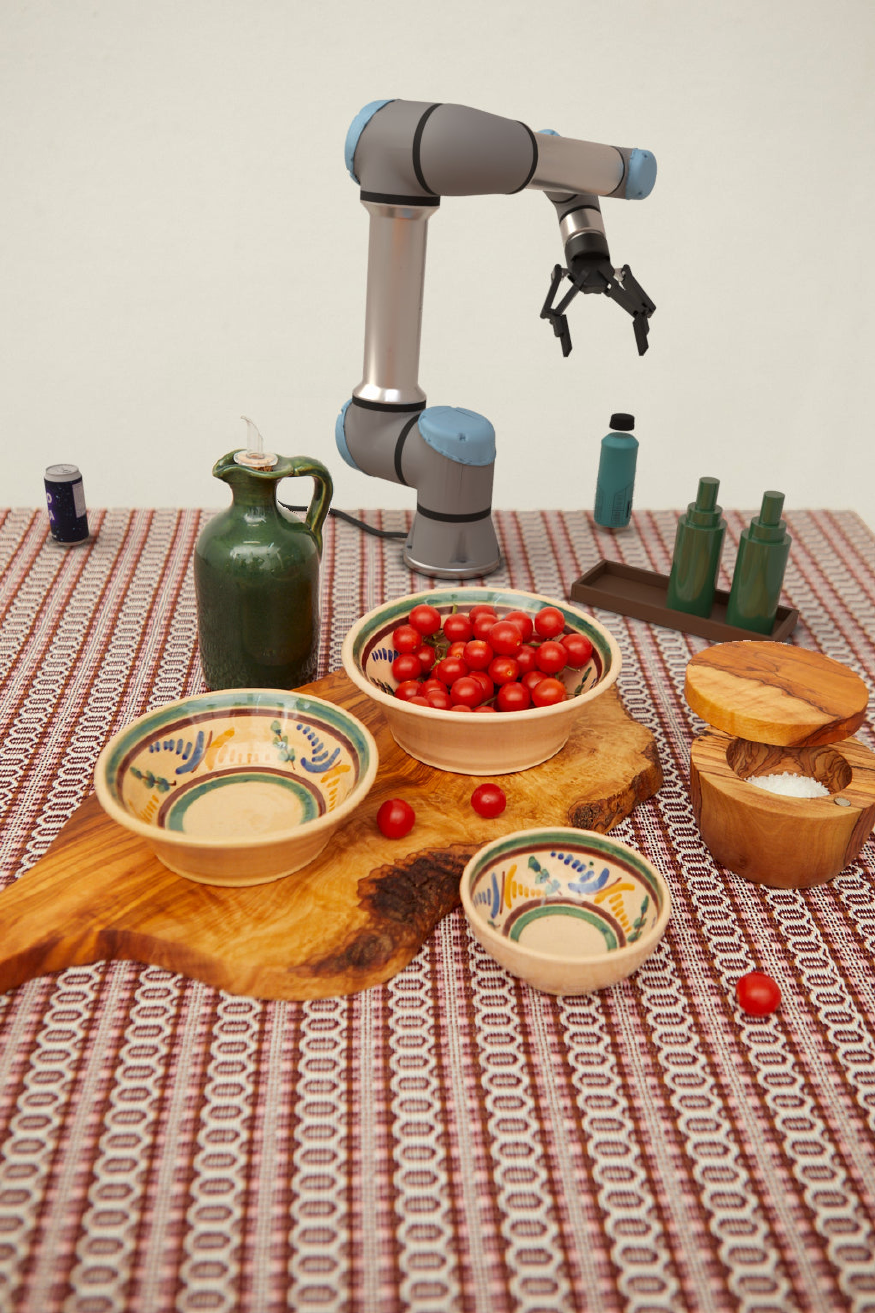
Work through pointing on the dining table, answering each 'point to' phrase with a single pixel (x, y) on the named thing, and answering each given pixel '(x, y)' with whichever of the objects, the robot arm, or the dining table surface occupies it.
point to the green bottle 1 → (698, 553)
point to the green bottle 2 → (760, 569)
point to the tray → (647, 598)
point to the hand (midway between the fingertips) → (606, 352)
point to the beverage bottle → (616, 473)
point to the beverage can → (66, 504)
